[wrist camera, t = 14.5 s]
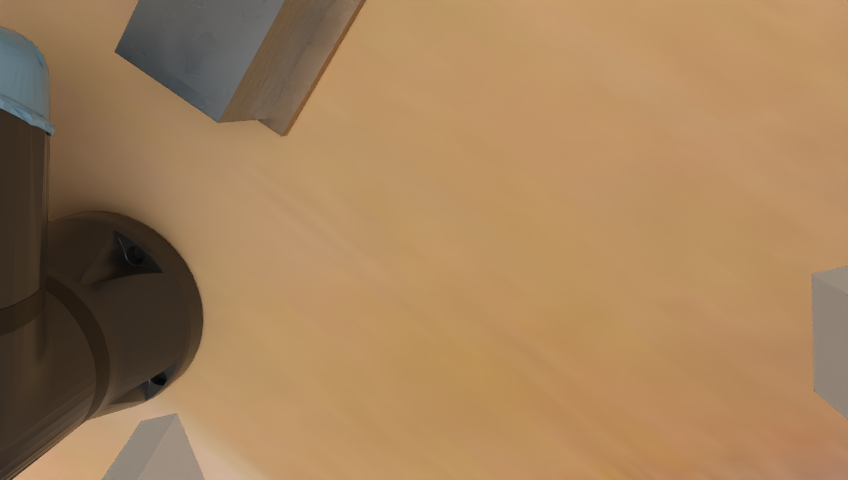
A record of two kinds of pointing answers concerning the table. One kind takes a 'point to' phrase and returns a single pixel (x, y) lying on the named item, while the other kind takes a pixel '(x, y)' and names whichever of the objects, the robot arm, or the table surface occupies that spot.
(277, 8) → the base plate with blocks
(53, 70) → the table surface
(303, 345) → the table surface
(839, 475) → the table surface
